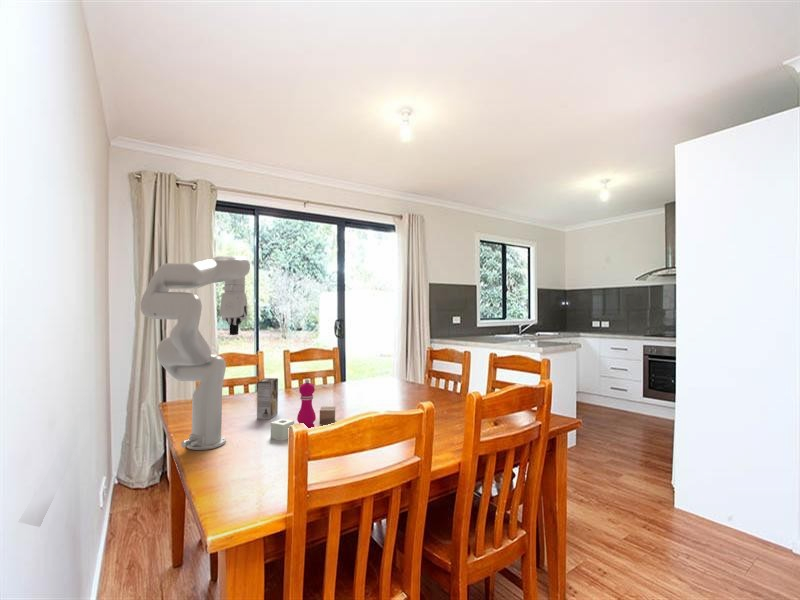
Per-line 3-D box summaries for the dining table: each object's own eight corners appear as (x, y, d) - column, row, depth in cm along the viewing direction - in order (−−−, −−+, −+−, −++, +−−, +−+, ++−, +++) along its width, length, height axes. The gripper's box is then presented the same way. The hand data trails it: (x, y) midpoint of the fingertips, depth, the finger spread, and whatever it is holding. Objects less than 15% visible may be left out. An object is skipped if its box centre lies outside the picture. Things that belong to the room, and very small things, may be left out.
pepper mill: (310, 432, 156) (311, 381, 156) (293, 431, 157) (294, 380, 157) (318, 427, 163) (319, 377, 163) (301, 425, 164) (302, 377, 164)
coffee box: (263, 413, 182) (264, 377, 182) (277, 413, 182) (278, 378, 182) (256, 419, 172) (256, 381, 173) (270, 419, 172) (271, 382, 172)
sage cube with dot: (283, 440, 146) (283, 424, 146) (270, 438, 149) (270, 422, 149) (294, 436, 152) (294, 420, 152) (281, 433, 154) (282, 418, 154)
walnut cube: (334, 424, 167) (334, 410, 167) (319, 424, 166) (319, 410, 166) (335, 420, 173) (335, 406, 173) (321, 420, 172) (321, 406, 172)
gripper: (212, 289, 161) (211, 334, 161) (244, 289, 157) (243, 336, 157) (225, 289, 168) (224, 333, 168) (256, 290, 164) (255, 334, 164)
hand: (233, 334), depth 162 cm, fingers closed
